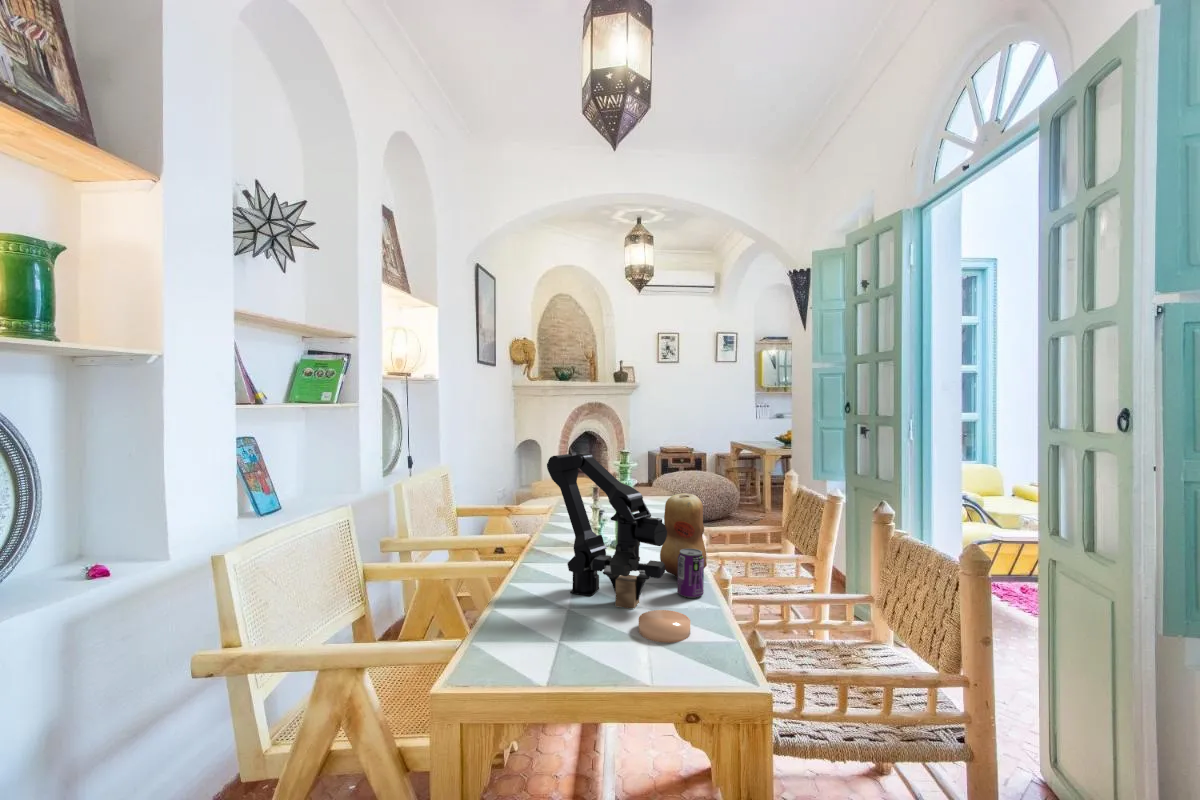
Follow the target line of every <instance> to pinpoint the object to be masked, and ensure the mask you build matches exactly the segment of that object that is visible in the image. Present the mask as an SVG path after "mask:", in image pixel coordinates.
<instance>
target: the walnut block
mask: <svg viewBox="0 0 1200 800" xmlns="http://www.w3.org/2000/svg"><path fill="white" fill-rule="evenodd" d="M637 576H638V575H633V574H629V575H628V576H622V575H620V576H619V577H618V578H617V579H616V594H615V605H614V607H615V606H616V607H617V608H622V607H624V609H629V608H634V609H636V607H637V606H638V605H639V604H640V599H639V600H638V601H637V600H636V590H637ZM638 603H639V604H638ZM637 604H638V605H637ZM636 605H637V606H636Z"/></svg>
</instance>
